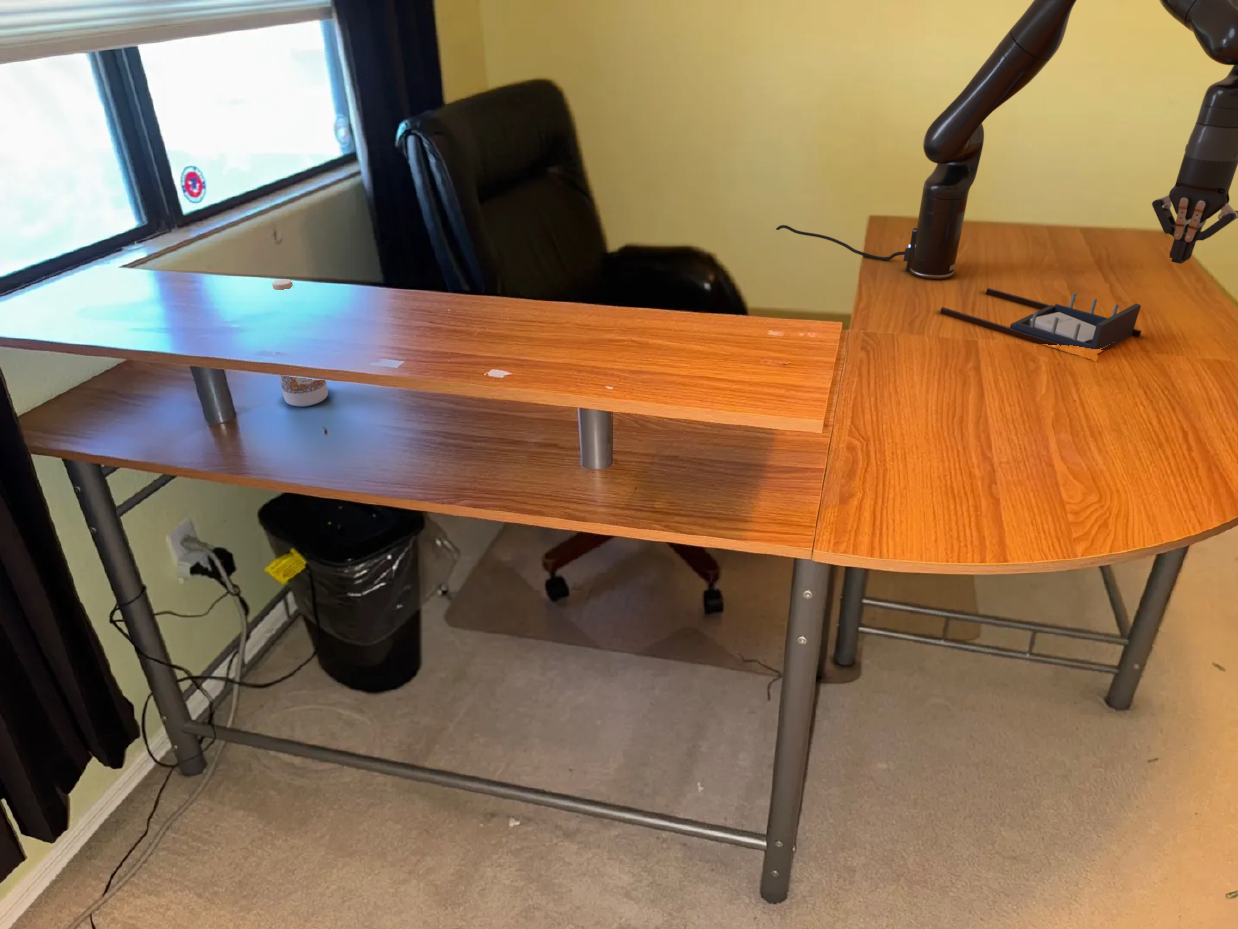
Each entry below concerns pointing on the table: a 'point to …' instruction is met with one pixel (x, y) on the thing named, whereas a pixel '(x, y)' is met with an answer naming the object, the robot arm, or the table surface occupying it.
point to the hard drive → (1065, 326)
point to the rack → (1105, 330)
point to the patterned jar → (300, 388)
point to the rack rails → (1006, 329)
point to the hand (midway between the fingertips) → (1178, 261)
